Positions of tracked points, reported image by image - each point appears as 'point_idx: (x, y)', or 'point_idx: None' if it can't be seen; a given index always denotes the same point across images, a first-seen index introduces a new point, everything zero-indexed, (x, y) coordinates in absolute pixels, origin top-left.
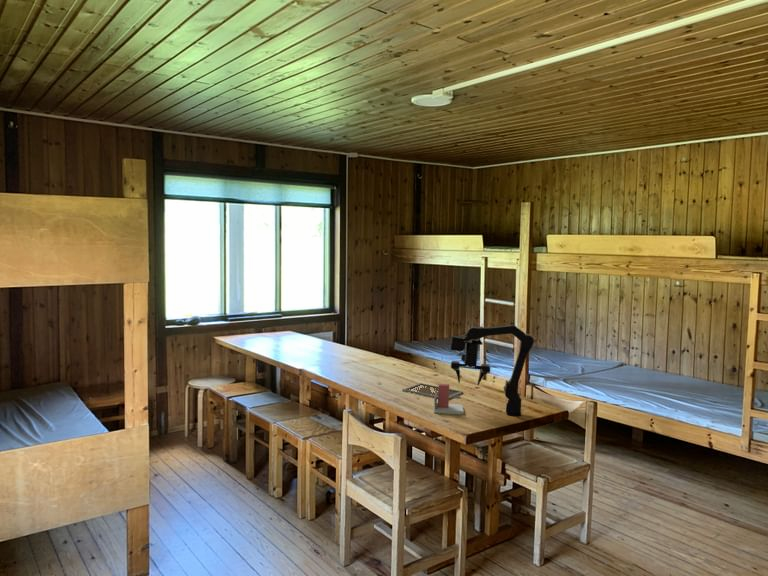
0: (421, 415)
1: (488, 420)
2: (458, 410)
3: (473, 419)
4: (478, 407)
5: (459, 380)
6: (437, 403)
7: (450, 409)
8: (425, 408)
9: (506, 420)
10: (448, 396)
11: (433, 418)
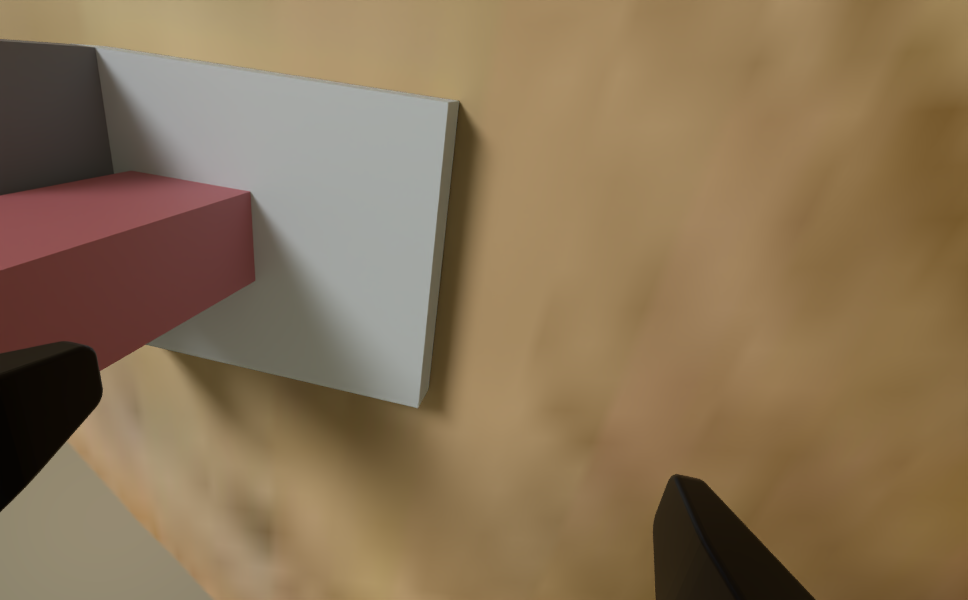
0: None
1: (643, 558)
2: (364, 368)
3: (499, 519)
4: (718, 78)
5: (14, 484)
6: (117, 75)
7: (278, 331)
8: None
9: (851, 581)
10: (138, 343)
11: (159, 463)
